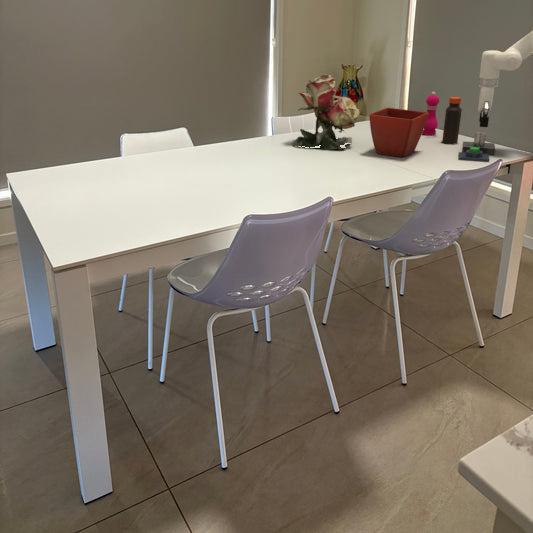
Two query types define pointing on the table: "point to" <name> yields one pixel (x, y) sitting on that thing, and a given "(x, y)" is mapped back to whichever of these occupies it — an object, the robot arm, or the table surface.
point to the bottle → (452, 121)
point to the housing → (473, 156)
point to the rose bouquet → (327, 114)
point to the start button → (474, 149)
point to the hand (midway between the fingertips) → (483, 124)
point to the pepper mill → (431, 115)
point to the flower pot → (396, 130)
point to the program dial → (479, 138)
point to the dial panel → (480, 147)
